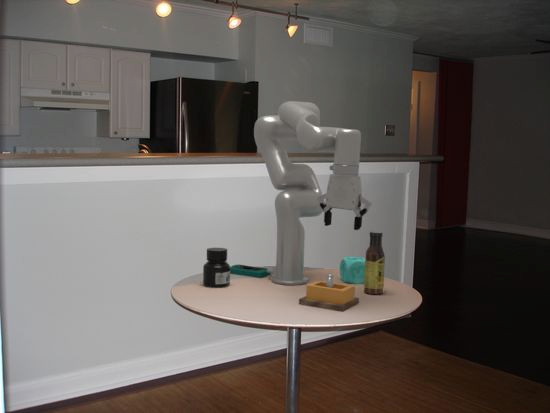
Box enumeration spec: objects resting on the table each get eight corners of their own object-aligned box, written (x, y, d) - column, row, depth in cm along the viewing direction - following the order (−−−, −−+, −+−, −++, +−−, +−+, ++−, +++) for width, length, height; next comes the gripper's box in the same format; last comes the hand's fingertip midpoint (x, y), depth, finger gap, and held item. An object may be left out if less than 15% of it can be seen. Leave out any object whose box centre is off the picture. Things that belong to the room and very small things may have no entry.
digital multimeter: (237, 271, 225) (237, 263, 225) (271, 276, 218) (272, 268, 217) (226, 274, 219) (226, 266, 218) (261, 279, 211) (261, 271, 211)
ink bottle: (222, 289, 194) (222, 252, 192) (197, 286, 197) (198, 250, 195) (234, 283, 203) (235, 248, 201) (211, 280, 206) (211, 246, 204)
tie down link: (306, 298, 178) (306, 285, 178) (318, 293, 185) (318, 280, 185) (343, 304, 172) (343, 291, 172) (354, 299, 179) (354, 285, 179)
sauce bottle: (381, 295, 190) (384, 233, 188) (361, 293, 192) (364, 232, 190) (384, 291, 196) (387, 231, 194) (366, 289, 198) (368, 229, 197)
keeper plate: (298, 304, 178) (299, 274, 177) (316, 296, 188) (317, 267, 187) (342, 311, 171) (343, 280, 170) (358, 302, 181) (359, 273, 180)
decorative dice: (339, 279, 214) (339, 256, 213) (360, 278, 215) (361, 256, 215) (346, 284, 206) (347, 261, 205) (368, 283, 208) (369, 260, 207)
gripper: (314, 168, 180) (311, 225, 182) (368, 173, 171) (363, 232, 173) (325, 167, 186) (322, 222, 189) (378, 172, 177) (373, 229, 180)
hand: (342, 227), depth 181 cm, fingers open, 9 cm apart
